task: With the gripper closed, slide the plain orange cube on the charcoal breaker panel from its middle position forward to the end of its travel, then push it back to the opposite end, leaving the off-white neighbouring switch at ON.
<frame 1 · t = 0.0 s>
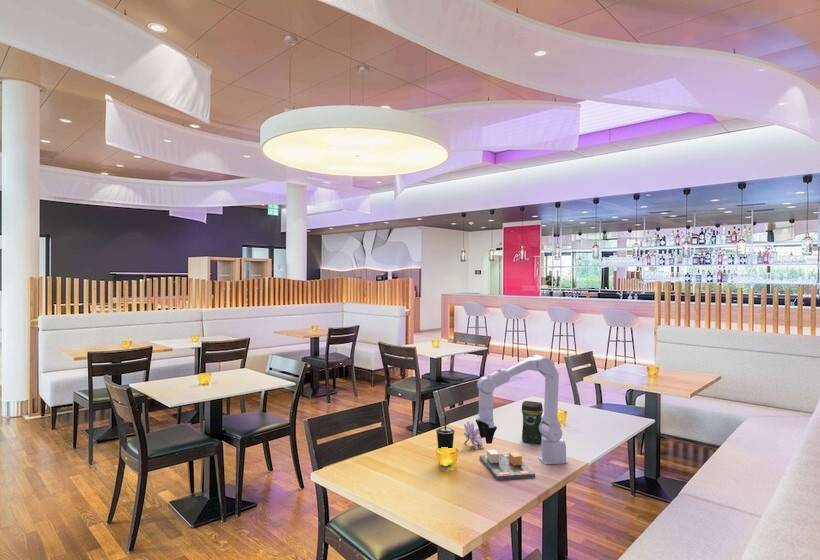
hand: (486, 440, 195), 10 cm above the table, tool pointing down, fingers open, 7 cm apart
plain orange cube: (515, 458, 192), point 3 cm above the table, slide at 0.0 cm
coffee jar: (532, 441, 224), on the table
breaker panel: (505, 467, 192), on the table
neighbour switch: (493, 456, 195), point 3 cm above the table, slide at -4.0 cm
water lily: (474, 446, 218), on the table
drinking cup: (445, 464, 196), on the table
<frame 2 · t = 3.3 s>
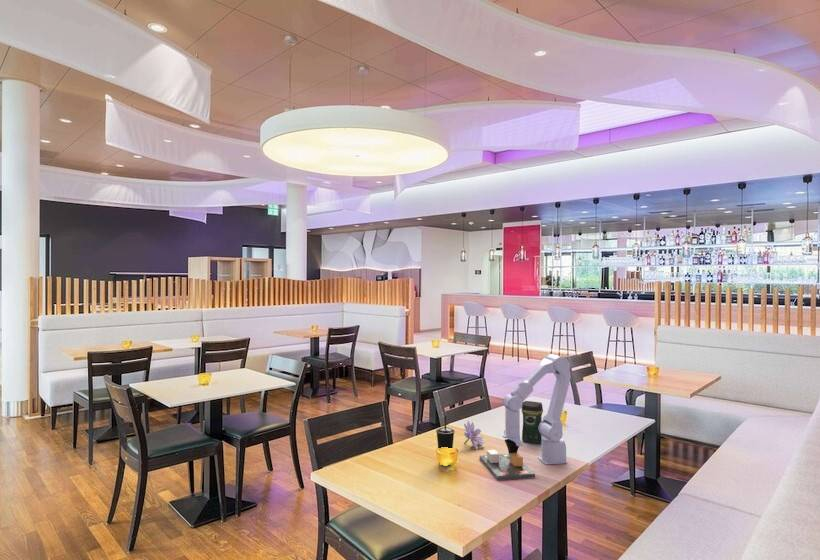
hand: (512, 457, 195), 3 cm above the table, tool pointing down, fingers closed
plain orange cube: (516, 459, 191), point 3 cm above the table, slide at 0.9 cm, touching gripper
everything else where it was.
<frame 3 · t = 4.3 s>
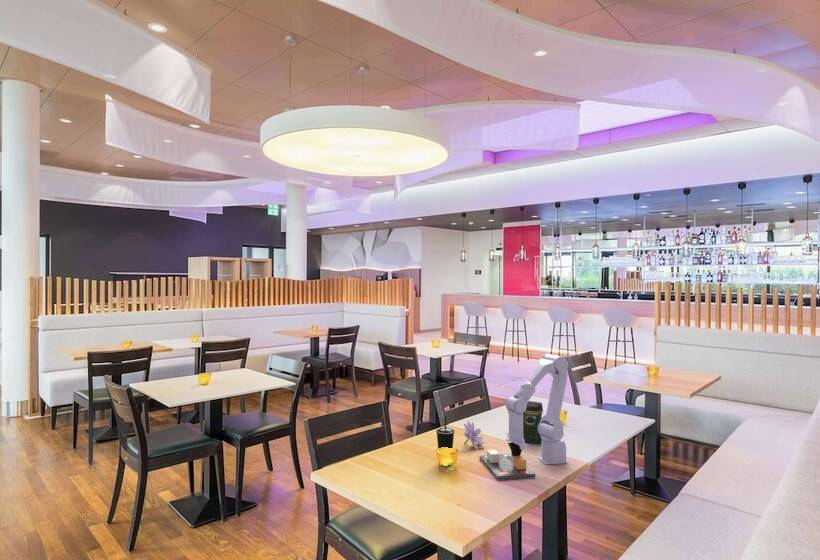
hand: (516, 461, 191), 3 cm above the table, tool pointing down, fingers closed
plain orange cube: (519, 462, 188), point 3 cm above the table, slide at 4.3 cm, touching gripper
everything else where it was.
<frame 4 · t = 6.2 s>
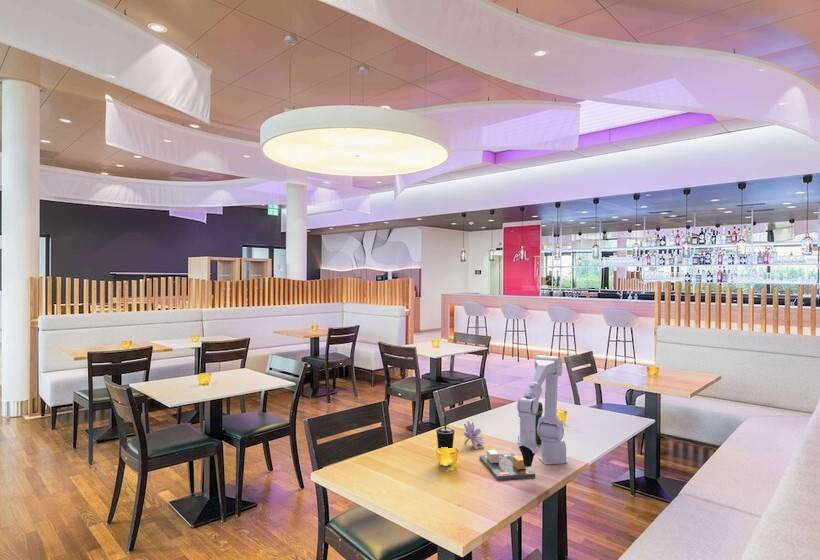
hand: (527, 466, 180), 5 cm above the table, tool pointing down, fingers closed
plain orange cube: (519, 462, 188), point 3 cm above the table, slide at 4.1 cm
everything else where it was.
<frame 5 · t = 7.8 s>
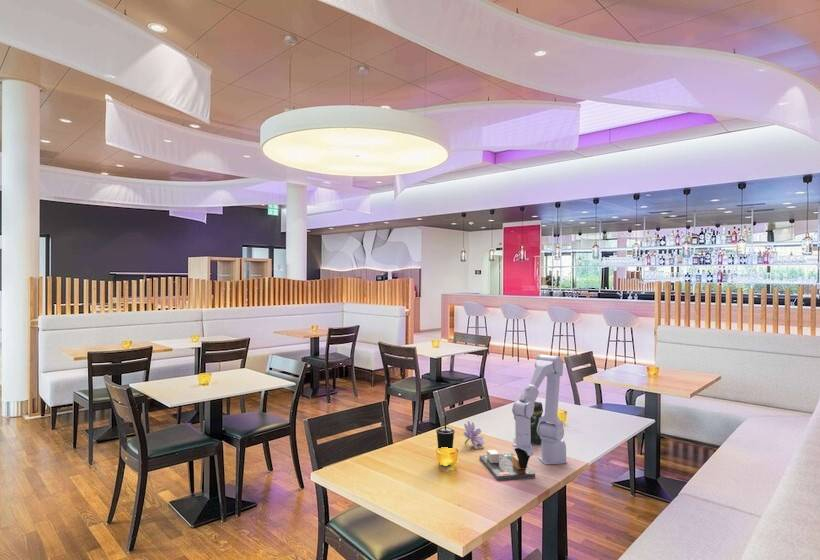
hand: (523, 467, 185), 3 cm above the table, tool pointing down, fingers closed
plain orange cube: (519, 462, 188), point 3 cm above the table, slide at 4.0 cm, touching gripper
everything else where it was.
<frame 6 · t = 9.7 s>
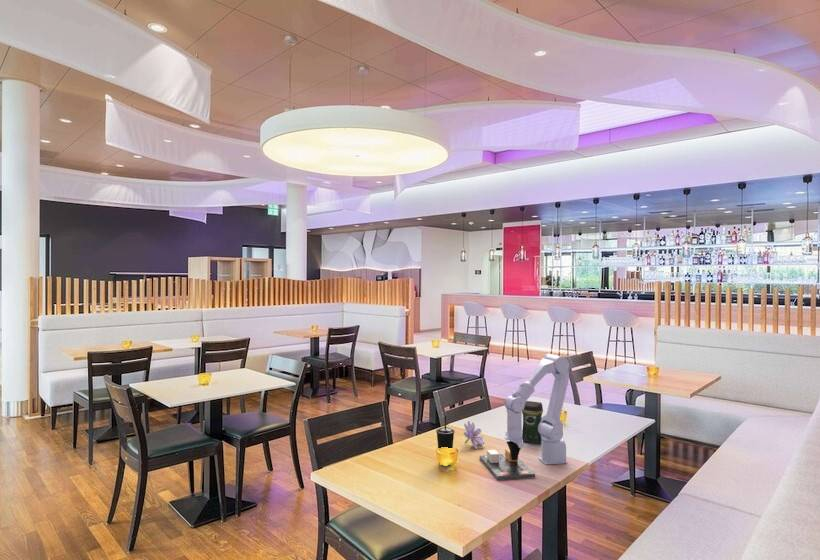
hand: (514, 459, 193), 3 cm above the table, tool pointing down, fingers closed
plain orange cube: (511, 454, 197), point 3 cm above the table, slide at -4.3 cm, touching gripper
everything else where it was.
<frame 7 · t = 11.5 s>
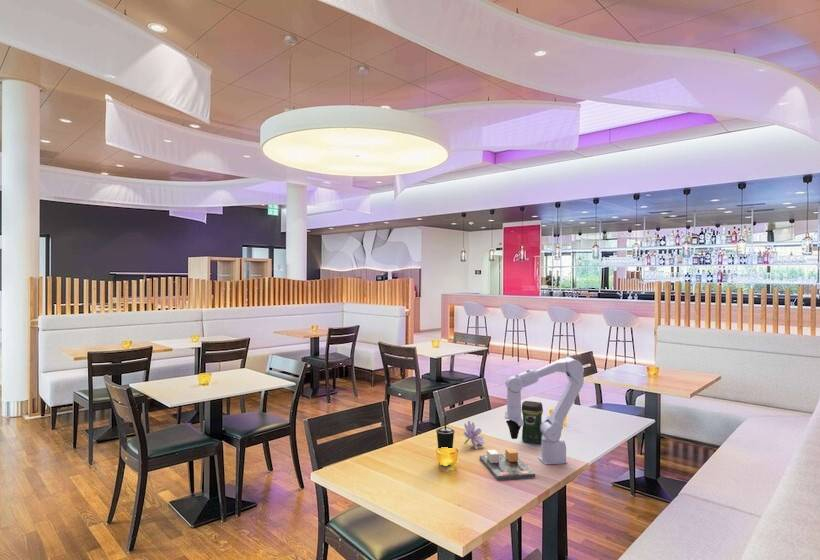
hand: (514, 438, 199), 9 cm above the table, tool pointing down, fingers closed
plain orange cube: (511, 455, 196), point 3 cm above the table, slide at -4.1 cm
everything else where it was.
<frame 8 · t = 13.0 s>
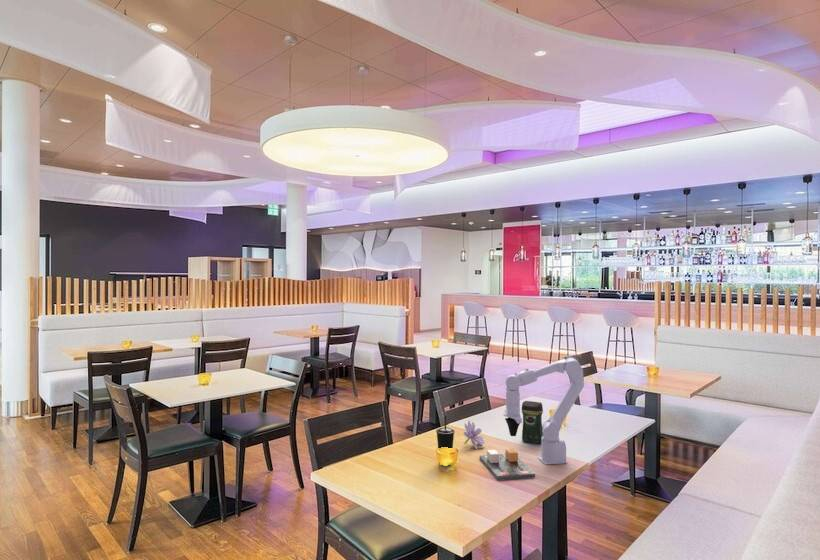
hand: (513, 435, 203), 9 cm above the table, tool pointing down, fingers closed
nothing on the table moved.
at the end: plain orange cube slide at -4.1 cm; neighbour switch slide at -4.0 cm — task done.
